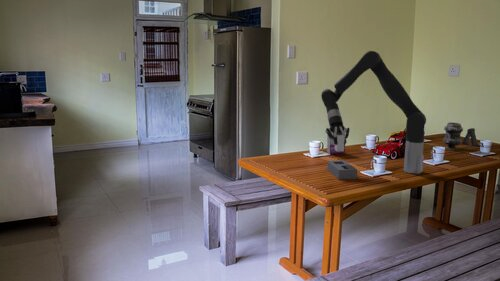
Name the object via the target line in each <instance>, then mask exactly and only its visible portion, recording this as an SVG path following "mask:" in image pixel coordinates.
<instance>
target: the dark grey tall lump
mask: <svg viewBox="0 0 500 281" xmlns="http://www.w3.org/2000/svg"><path fill="white" fill-rule="evenodd" d="M444 131H445V134H444V137H443V138H442V142H443V143H444V144H446V146H444V147H445V150H449V151H459V150H460V148H459V147H457V146H458V145H462V142H463V140H462V139H461V134H462V133H463V131H464V128H463V127H462V124H461V123H459V122H450V121H449V122H447V124H446V125H445V126H444Z"/></svg>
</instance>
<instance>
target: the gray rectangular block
mask: <svg viewBox="0 0 500 281" xmlns="http://www.w3.org/2000/svg"><path fill="white" fill-rule="evenodd" d="M345 135H346V134H345ZM345 135H343V134H336V138H337V142H338V144H337V145H335V150H336V151H344V140H345Z"/></svg>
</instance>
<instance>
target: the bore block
mask: <svg viewBox="0 0 500 281" xmlns="http://www.w3.org/2000/svg"><path fill="white" fill-rule="evenodd" d="M326 165H327V166H326V167H327V168H326V169H327V171H328V172H330V174H332V175H333V176H334V177H336V179H337V180H355V179H358V169H357V168H356V167H354V166H353V165H351V164H350V163H349V162H348V161H346V160H327V164H326Z"/></svg>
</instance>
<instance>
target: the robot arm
mask: <svg viewBox="0 0 500 281" xmlns="http://www.w3.org/2000/svg"><path fill="white" fill-rule="evenodd" d="M369 69H370V70H371V71H372V73H373V74H374V75H375V76H376V78H377V79H378V81H379V84H380V86H381V88H382V90H383V91H384V93H385V94H386V95H387V97H388V98H389V99H390V100H391V102H392V103H394V104H395V105H396V107H398V108H399V109H400V111H402V112H403V114H404V116H405V117H406V125H405V150H404V162H403V172H405V173H408V174H419V175H420V174H421V173H422V172H423V169H424V158H425V155H424V146H425V145H424V143H425V125H426V123H427V117H426V115H425V114H424V113H423V112H422V111H421V110H420V109H419V107H418V106H417V105H416V104H415V103H414V102H413V100H412V98H411V97H410V95H409V94H408V92H407V90H406V89H405V88H404V86H403V85H402V83H401V82H400V81H399V80H398V78H396V76H395V75H394V74H393V72H391V71H390V70H389V68H388V67H387V65H386V63H385V62H384V60H383V58H382V57H381V55H380V54H379V53H378V52H376V51H375V50H367V51H366V52H365V53H364V54H363V55H362V56H361V57H360V59H359V61H358V62H357V63H356V64H355V65H354V66H353V67H352V68H351V69H350V70H349V71H347V73H346V74H344V75H343V76H342V77H341V78H340V79H339V80H337V81H336V82H335V83H334V89H335V90H334V91H333V90H331V89H330V88H326V89H324V90H323V91H322V92H321V94H320V96H321V101H322V102H323V104H324V107H325V108H326V114H327V120H328V125H329V128H328V127H326V129H325V130H324V131H325V133H326V135H328V136H329V138H330V139H333V140H334V144H335V145H337V144H338V142H337V138H336V134H343V135H345V140H344V145H345V146H346V144H347V139H348V137H349V134H350V130H351V129H350V127H345V126H344V123H343V122H344V121H343V118H342V115H341V111H340V108H339V104H338V103H337V102H339V100H340V99H341V97H342V95H343V94H344V92H346V91H347V90H348V89H349V88H350V87H351V86H352V85H353V84H354V83H355V82H356V81H357V80H358V79H359V77H361V75H363V73H365V72H367V71H368V70H369ZM344 130H345V132H346V133H345V134H344ZM330 131H331V132H333V135H332V134H331V132H330Z"/></svg>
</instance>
